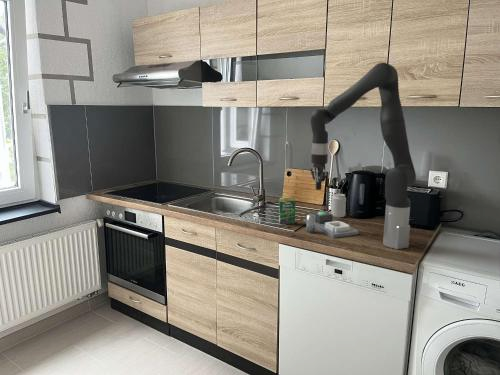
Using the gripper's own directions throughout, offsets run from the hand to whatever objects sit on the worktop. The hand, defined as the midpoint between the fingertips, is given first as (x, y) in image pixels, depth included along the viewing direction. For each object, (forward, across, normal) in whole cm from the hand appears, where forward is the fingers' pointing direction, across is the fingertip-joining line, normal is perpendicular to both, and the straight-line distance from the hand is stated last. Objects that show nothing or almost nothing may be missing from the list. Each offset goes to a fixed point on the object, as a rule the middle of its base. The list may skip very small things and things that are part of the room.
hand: (318, 189), depth 173 cm
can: (+19, +14, -21) cm, 32 cm away
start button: (+16, +5, -6) cm, 18 cm away
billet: (+19, -5, +6) cm, 20 cm away
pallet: (+19, -2, -6) cm, 20 cm away
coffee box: (+19, +11, +11) cm, 25 cm away
